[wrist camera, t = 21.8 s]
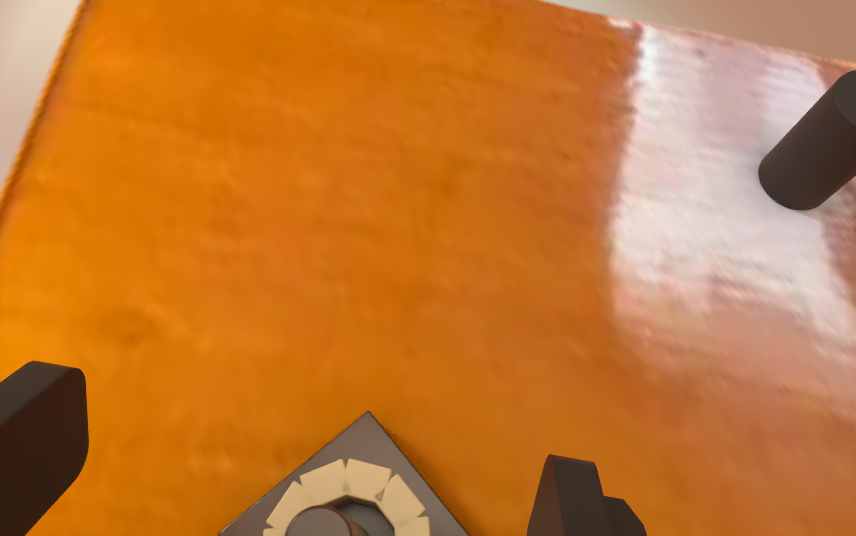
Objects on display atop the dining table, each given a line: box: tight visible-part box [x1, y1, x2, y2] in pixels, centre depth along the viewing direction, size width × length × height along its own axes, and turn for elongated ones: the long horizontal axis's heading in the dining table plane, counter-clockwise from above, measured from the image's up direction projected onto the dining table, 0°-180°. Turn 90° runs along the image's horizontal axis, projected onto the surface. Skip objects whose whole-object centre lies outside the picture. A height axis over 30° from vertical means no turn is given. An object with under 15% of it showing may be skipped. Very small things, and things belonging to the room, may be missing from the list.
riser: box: [759, 70, 856, 210], centre depth 34 cm, size 4×4×7 cm
